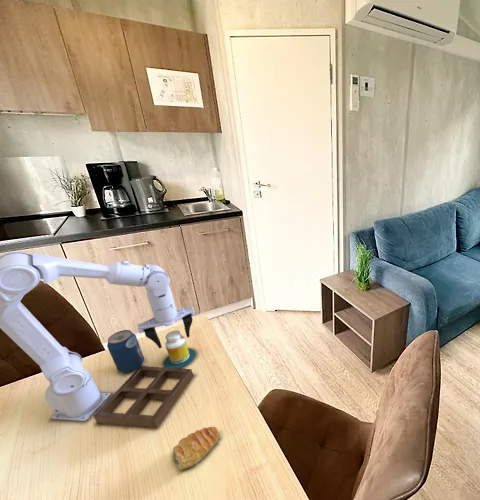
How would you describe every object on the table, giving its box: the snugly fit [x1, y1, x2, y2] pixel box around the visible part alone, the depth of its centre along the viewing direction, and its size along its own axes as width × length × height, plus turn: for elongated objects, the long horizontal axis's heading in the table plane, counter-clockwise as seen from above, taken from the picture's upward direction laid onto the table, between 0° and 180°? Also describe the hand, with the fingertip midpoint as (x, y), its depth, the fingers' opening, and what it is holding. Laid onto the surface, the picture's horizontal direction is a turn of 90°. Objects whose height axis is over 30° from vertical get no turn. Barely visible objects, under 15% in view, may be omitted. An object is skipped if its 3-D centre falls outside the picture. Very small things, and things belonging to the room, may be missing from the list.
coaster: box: [163, 347, 196, 369], centre depth 92 cm, size 9×9×1 cm
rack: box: [92, 365, 194, 429], centre depth 78 cm, size 16×16×3 cm
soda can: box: [106, 329, 145, 374], centre depth 86 cm, size 7×7×12 cm
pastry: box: [172, 426, 220, 470], centre depth 66 cm, size 9×7×4 cm
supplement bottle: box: [164, 329, 189, 364], centre depth 90 cm, size 5×5×10 cm
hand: (174, 340), depth 89 cm, fingers open, 7 cm apart
